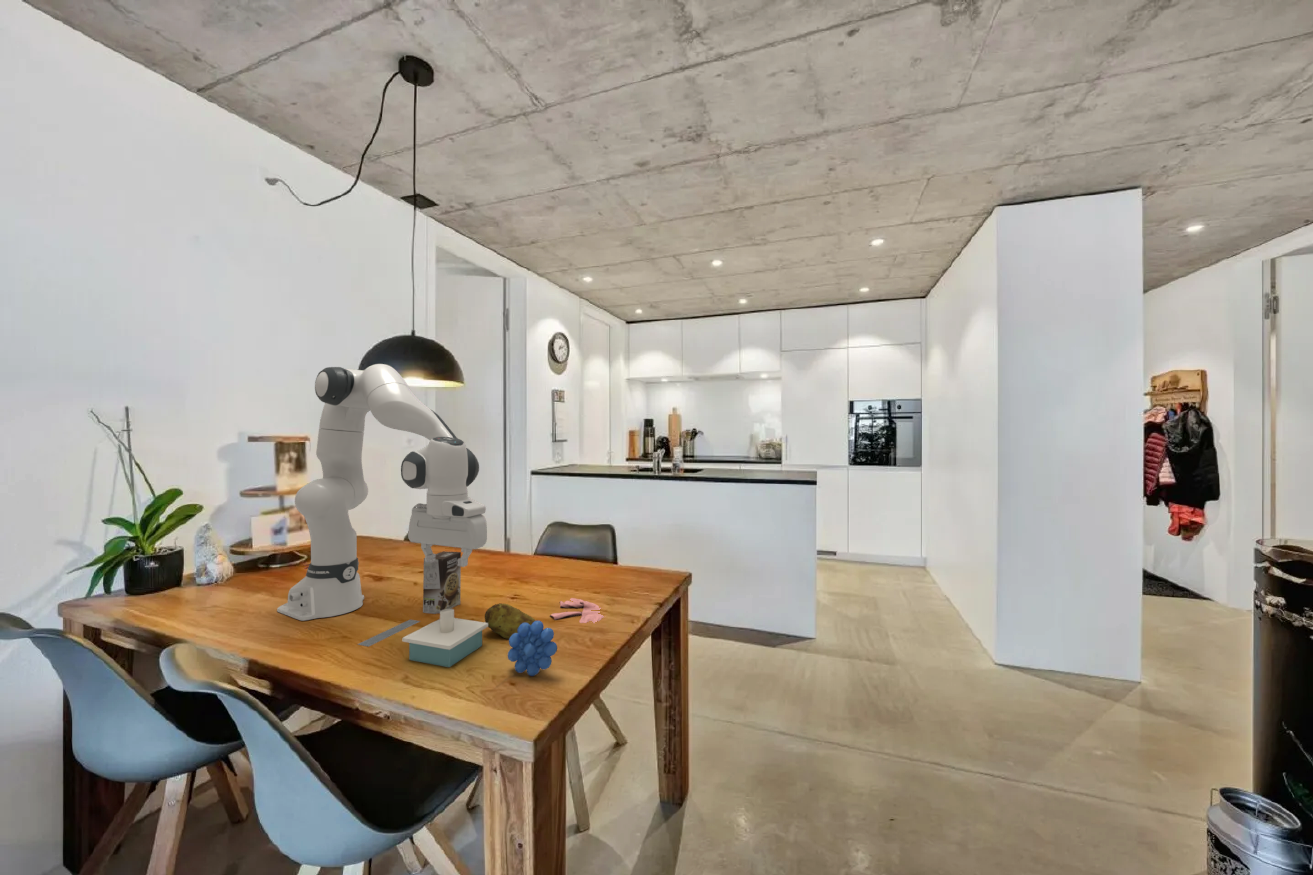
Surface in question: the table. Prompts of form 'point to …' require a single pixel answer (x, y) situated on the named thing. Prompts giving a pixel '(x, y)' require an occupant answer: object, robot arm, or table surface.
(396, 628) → the mat
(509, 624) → the potato
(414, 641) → the lid
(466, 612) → the table surface
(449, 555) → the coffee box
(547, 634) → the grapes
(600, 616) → the cloth
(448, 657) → the dish
